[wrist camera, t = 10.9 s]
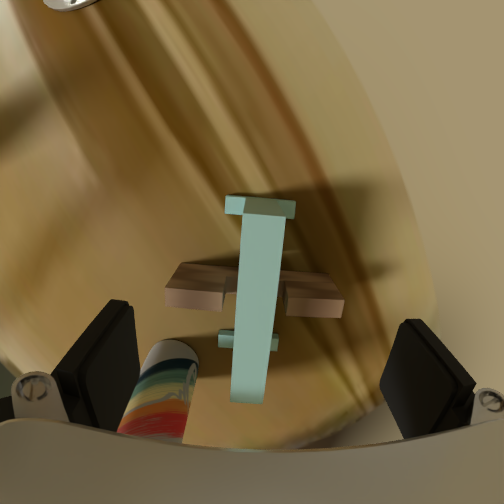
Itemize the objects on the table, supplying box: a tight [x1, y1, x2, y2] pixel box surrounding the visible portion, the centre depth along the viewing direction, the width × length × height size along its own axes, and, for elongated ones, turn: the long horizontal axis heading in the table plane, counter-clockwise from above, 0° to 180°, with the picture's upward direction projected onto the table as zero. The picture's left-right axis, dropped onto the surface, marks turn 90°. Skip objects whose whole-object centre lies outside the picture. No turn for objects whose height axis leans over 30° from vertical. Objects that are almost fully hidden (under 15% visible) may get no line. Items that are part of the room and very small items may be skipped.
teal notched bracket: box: [218, 195, 296, 404], centre depth 25 cm, size 15×6×9 cm, turn 175°
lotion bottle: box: [117, 340, 199, 443], centre depth 23 cm, size 6×6×20 cm
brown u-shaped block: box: [165, 263, 345, 318], centre depth 27 cm, size 14×2×6 cm, turn 86°
